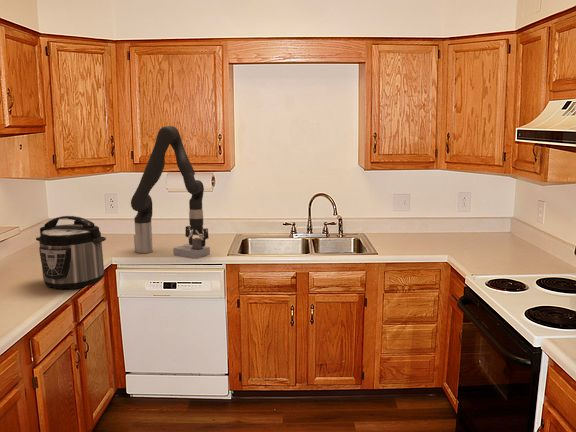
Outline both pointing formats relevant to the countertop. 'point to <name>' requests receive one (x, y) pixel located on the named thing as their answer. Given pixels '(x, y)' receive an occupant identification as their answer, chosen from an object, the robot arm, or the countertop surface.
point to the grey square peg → (196, 244)
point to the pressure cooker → (71, 253)
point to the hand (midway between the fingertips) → (197, 245)
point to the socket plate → (191, 251)
